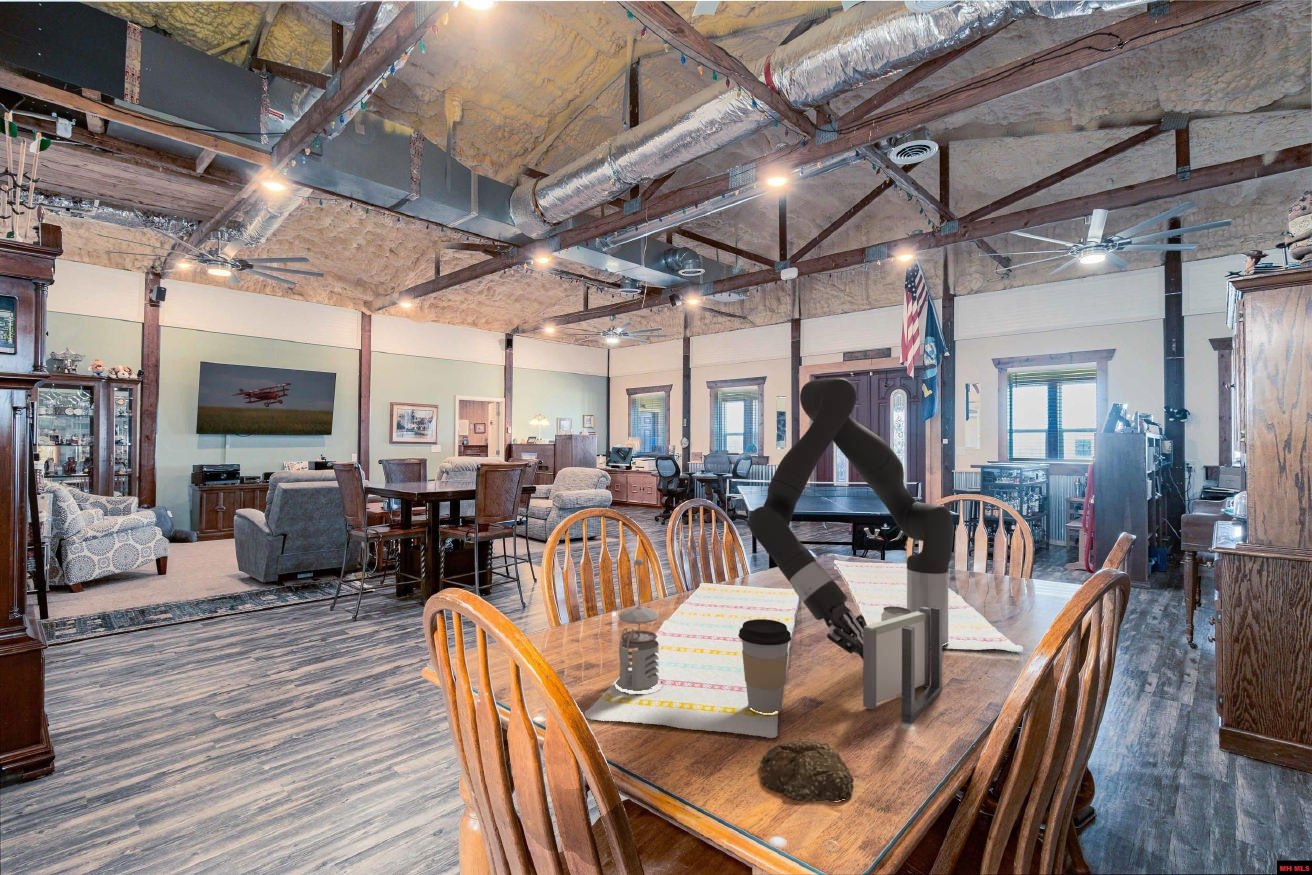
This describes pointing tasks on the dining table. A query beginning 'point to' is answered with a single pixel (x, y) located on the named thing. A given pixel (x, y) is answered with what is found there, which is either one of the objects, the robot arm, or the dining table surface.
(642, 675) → the french press
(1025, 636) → the dining table surface
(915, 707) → the gate frame
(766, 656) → the coffee cup
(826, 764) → the bread roll
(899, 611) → the can
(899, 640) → the gate
